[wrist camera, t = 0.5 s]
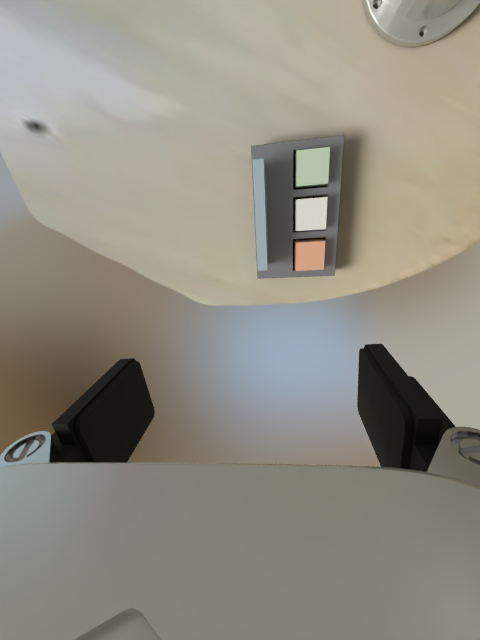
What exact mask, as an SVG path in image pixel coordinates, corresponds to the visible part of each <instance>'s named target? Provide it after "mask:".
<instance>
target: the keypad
mask: <svg viewBox="0 0 480 640" xmlns="http://www.w3.org/2000/svg"><path fill="white" fill-rule="evenodd" d="M343 144H344V135H342V136H333V137H325V138H316V139H307V140H299V141H290V142H282V143H273V144H264V145H256V146H251V154H252V175H253V195H254V216H255V236H256V257H257V277H258V279H260V278H285V277H310V276H335V263H336V248H337V233H338V219H339V204H340V189H341V174H342V159H343ZM323 147H330V159H329V179H328V184H326V185H325V187H323V188H312V189H301V190H293V155H295V154H296V151H297V150H305V149H314V148H323ZM322 195H324V197H328V199H327V219H326V229H321V230H306V231H293V198H298V197H310V196H322ZM319 237H322V239H323V240H325V258H324V270H306V271H296V270H295V267H294V266H293V239H303V238H319Z"/></svg>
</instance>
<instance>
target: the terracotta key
mask: <svg viewBox="0 0 480 640" xmlns="http://www.w3.org/2000/svg"><path fill="white" fill-rule="evenodd" d="M324 258H325V240H323V239H322V238H320V239H303V240H295V244H294V267H295V270H296V271H306V270H324Z"/></svg>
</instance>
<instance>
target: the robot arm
mask: <svg viewBox="0 0 480 640" xmlns="http://www.w3.org/2000/svg"><path fill="white" fill-rule="evenodd" d="M363 3H364V7H365V11H366V14H367V16H368V18H369V21H370V23H371V25H372V26H373V27H374V29H375V30H376V31H377V33H378V34H379V35H380V36H382V37H383V38H384V39H385V40H387V41H388V42H391V43H393V44H395V45H398V46H405V47H415V46H422V45H425V44H428V43H432V42H434V41H436V40H438V39H440V38H442V37H444V36H445V35H447V34H448V33H450V32H451V31H452V30H454V29H455V28H456V27H457V26H459V25H460V24H461V23H462V22H463V21H464V20H465V19H466V18H467V17H468V16H469V15H470V14H471V13H472V12H473V11H474V10H475V8H476V7H477V6H478V5H479V4H480V0H363ZM374 6H376V7H377V9H374ZM419 33H420V34H422V37H421V36H420V35H419ZM358 411H359V415H360V417H361V420H362V422H363V424H364V427H365V429H366V432H367V434H368V436H369V439H370V441H371V443H372V446H373V448H374V450H375V453H376V455H377V458H378V460H379V462H380V465H381V467H370V466H352V465H349V466H348V465H347V466H346V465H293V464H237V463H236V464H235V463H137V462H134V463H133V462H132V463H131V462H127V461H128V459H129V457H130V456H131V455H132V453H133V451H134V449H135V448H136V446H137V444H138V443H139V441H140V439H141V438H142V436H143V434H144V433H145V431H146V429H147V427H148V426H149V424H150V422H151V420H152V419H153V417H154V407H153V404H152V401H151V397H150V394H149V391H148V388H147V385H146V382H145V378H144V375H143V372H142V369H141V366H140V363H139V362H137V361H136V360H135V359H120V360H119V361H118V362H117V363H116V364H115V365H114V366H113V367H112V368H110V370H108V371H107V372H106V373H105V374H104V375H103V376H102V377H101V378H100V379H99V380H98V381H97V382H96V383H95V384H94V385H93V386H92V387H90V388H89V389H88V390H87V391H86V392H85V393H84V394H83V395H82V396H81V397H80V398H79V399H78V400H77V401H76V402H75V403H74V404H73V405H71V406H70V407H69V408H68V409H67V410H66V411H65V412H64V413H63V414H62V415H61V416H60V417H59V418H58V419H57V420H56V421H55V422H54V423H52V426H53V428H54V430H55V433H54V434H53V435H52V436H51V434H50V433H49V432H47V431H41V432H35V433H32V434H29V435H27V436H25V437H23V438H21V439H19V440H18V441H16V442H14V443H13V444H12V445H10V446H9V447H8V448H7V449H6V450H5V451H4V452H3V453H2V454H1V456H0V640H480V430H478V429H475V428H470V427H455V426H454V424H453V423H452V422H451V421H450V420H449V418H448V417H447V416H446V415H445V414H444V412H443V411H442V410H441V409H440V408H439V406H438V405H437V404H436V403H435V402H434V400H433V399H432V398H431V397H430V396H429V395H428V393H427V392H426V391H425V390H424V389H423V387H422V386H421V385H420V384H419V383H418V382H417V381H416V379H414V377H410V376H408V375H407V374H406V373H405V372H404V370H403V369H402V368H401V367H400V366H399V364H398V363H397V362H396V360H395V359H394V358H393V357H392V356H391V355H390V353H389V352H388V351H387V349H386V348H385V347H384V346H383V345H382V344H371V345H365V347H364V348H363V349H360V351H359V375H358Z"/></svg>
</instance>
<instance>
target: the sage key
mask: <svg viewBox="0 0 480 640" xmlns="http://www.w3.org/2000/svg"><path fill="white" fill-rule="evenodd" d="M329 159H330V147H323V148H314V149H305V150H297V151H296V154H295V188H301V187H312V186H323V185H326V184H328V179H329Z"/></svg>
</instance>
